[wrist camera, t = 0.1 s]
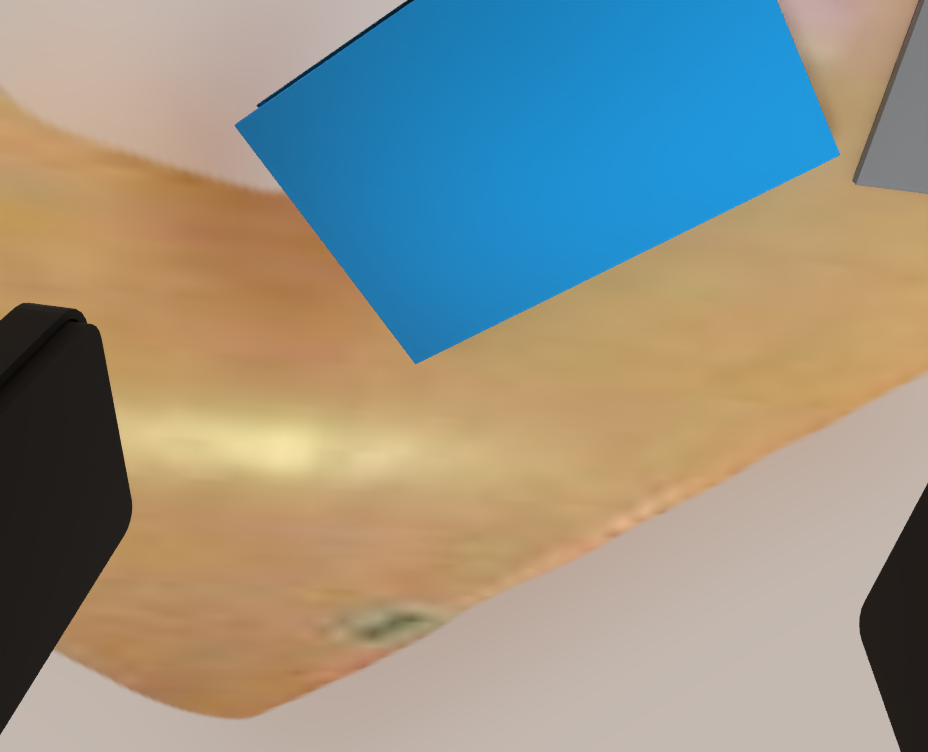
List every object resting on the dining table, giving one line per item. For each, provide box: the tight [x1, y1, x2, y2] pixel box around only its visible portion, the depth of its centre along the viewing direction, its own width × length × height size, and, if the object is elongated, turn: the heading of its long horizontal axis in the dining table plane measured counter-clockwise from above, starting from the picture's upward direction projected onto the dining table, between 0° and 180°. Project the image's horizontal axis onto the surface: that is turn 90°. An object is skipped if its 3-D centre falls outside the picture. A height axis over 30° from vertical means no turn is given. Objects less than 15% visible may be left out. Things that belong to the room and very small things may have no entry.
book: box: [235, 0, 840, 364], centre depth 43 cm, size 17×4×25 cm
